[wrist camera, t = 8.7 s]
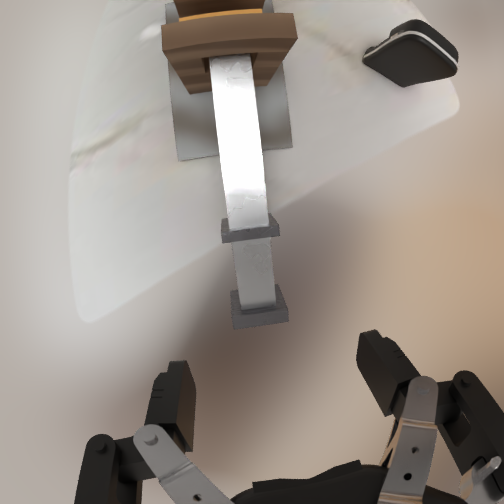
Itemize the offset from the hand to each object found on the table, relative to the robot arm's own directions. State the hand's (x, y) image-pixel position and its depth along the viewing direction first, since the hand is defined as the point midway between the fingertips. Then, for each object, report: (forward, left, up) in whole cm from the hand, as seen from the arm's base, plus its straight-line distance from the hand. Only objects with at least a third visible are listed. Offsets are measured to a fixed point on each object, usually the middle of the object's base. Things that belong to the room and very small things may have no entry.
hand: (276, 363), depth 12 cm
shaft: (-6, 0, -13) cm, 15 cm away
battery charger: (-20, +20, -21) cm, 35 cm away
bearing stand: (-19, 0, -21) cm, 28 cm away
